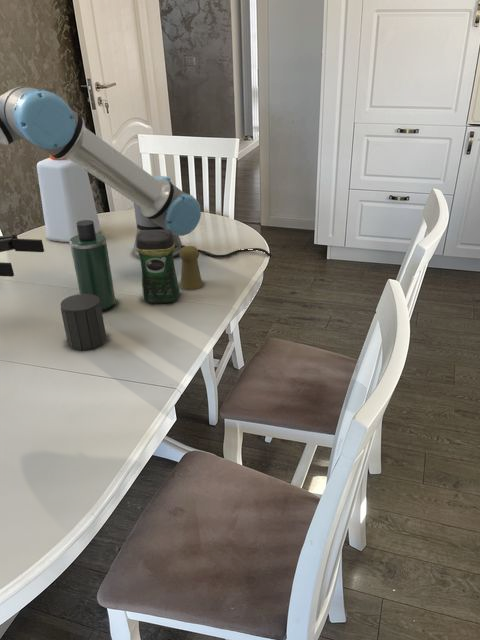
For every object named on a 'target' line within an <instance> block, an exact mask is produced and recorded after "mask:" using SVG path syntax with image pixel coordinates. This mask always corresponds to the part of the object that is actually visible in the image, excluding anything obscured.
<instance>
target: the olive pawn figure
mask: <svg viewBox="0 0 480 640" xmlns="http://www.w3.org/2000/svg"><path fill="white" fill-rule="evenodd" d="M184 246H185V247H183V248H181V249H180V252H179V255H178V256H179V258H180V259H181V267H180V268H181V270H180V288H181V289H184V290H187V291H188V290H189V291H190V290H197V289H200V288H201V287H202V286H203V282H202V276H201V271H200V266H199V262H198V258H199V257H200V255H199V253H200V252H198V249H199V248H197V247H196V246H195V245H194V246H193V245H184Z"/></svg>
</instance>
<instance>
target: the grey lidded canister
mask: <svg viewBox="0 0 480 640" xmlns="http://www.w3.org/2000/svg"><path fill="white" fill-rule="evenodd" d="M59 305H60V313H61V317H62V322H63V327H64V331H65V335H66V340H67V344H68V347H70V348H71V349H72V350H77V351H89V350H94V349H97V348H99V347H101V346H103V345H104V344H105V343H106V342H107V332H106V328H105V321H104V316H103V312H102V309H101V304H100V299H99V297H97V296H96V295H92V294H80V293H78V294H74V295H70V296H68V297H65V298H64V299H62V300H61V301H60V304H59Z"/></svg>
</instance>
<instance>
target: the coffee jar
mask: <svg viewBox="0 0 480 640" xmlns="http://www.w3.org/2000/svg"><path fill="white" fill-rule="evenodd" d="M136 233H137V232H136ZM135 237H136V250H137V252H138V254H139V256H140V258H139V260H140V268H141V292H142V293H141V294H142V299H143V301H144V302H146V303H148V304H163V303H164V304H165V303H168V304H169V303H173V302H175V301H177V300H178V299H179V297H180V293H181V292H180V286H179V281H178V276H177V272H176V266H175V261H174V257H173V251H174V248H175V242H174V238H173V234H172V231H171V230H170V229H166V230H139V232H138V233H137V236H136V235H135Z"/></svg>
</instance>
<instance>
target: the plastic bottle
mask: <svg viewBox="0 0 480 640" xmlns="http://www.w3.org/2000/svg"><path fill="white" fill-rule="evenodd" d="M48 155H49V157H48V158H45V159H42V160H40V161H38V162H37V164H36V171H37V179H38V184H39V191H40V199H41V200H40V201H41V205H42V206H41V207H42V213H43V220H44V227H45V235H46V238H48V239H49V240H50V241H53V242H54V241H55V242H62V243H69V244H70V239H71V238H72V237H74V236H76V235H78V231H77V226H76V223H77V222H79V221H82V220H91V221H93V222H94V228H95V233H99V234H100V232H101V230H102V229H101V223H100V218H99V215H98V211H97V208H96V203H95V199H94V194H93V190H92V187H91V182H90V178H89V177H90V176H89V172H87V171H86V170H84V169H83V168H81V167H80V166H78V165H77V164H75V163H74V162H72V161H71V160H69V159H68V158H63V159H56V158H55V157H53V156H52V155H50V154H48Z"/></svg>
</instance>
